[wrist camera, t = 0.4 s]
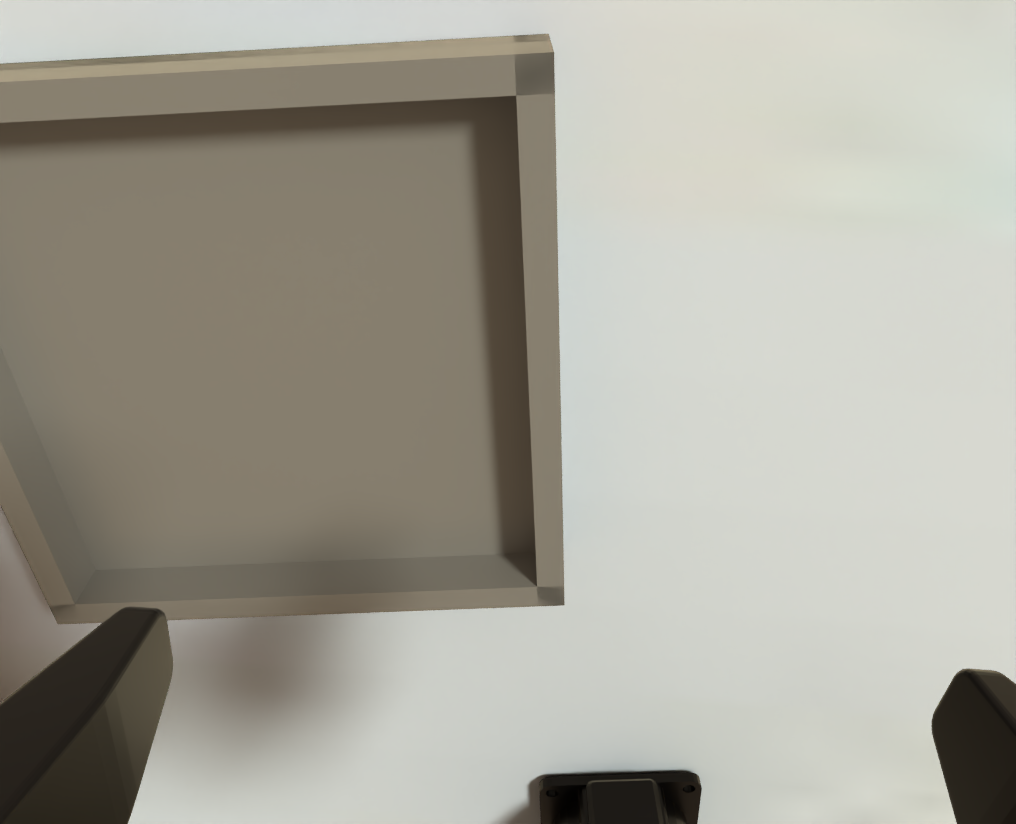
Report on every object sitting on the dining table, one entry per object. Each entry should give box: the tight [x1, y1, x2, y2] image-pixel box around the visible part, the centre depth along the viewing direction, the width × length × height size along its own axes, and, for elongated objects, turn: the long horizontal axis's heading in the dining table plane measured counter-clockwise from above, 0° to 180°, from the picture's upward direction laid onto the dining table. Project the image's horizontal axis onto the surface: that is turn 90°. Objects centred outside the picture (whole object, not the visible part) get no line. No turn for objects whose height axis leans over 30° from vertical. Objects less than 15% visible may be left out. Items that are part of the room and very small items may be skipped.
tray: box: [0, 34, 564, 624], centre depth 22 cm, size 16×16×2 cm
